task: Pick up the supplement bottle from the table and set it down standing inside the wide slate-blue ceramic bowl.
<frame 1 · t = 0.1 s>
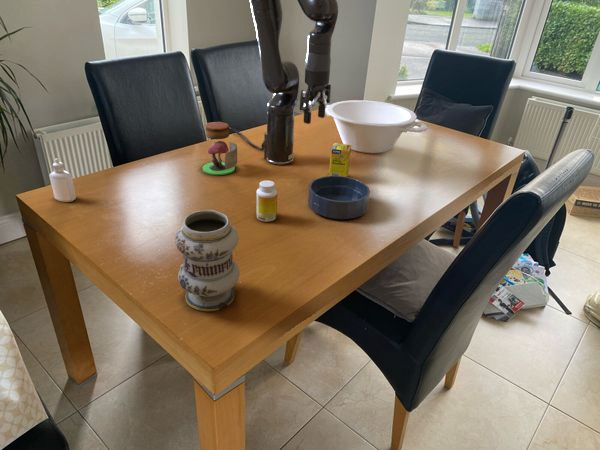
hand: (314, 120, 144), 17 cm above the table, tool pointing down, fingers open, 8 cm apart
white wash basin: (366, 146, 177), on the table
supplement bottle: (266, 218, 123), on the table
apothecary jar: (210, 296, 93), on the table
supplement box: (338, 178, 148), on the table
eye dropper bottle: (66, 199, 126), on the table
bowl: (337, 206, 130), on the table
mushroom terrarium: (219, 170, 149), on the table
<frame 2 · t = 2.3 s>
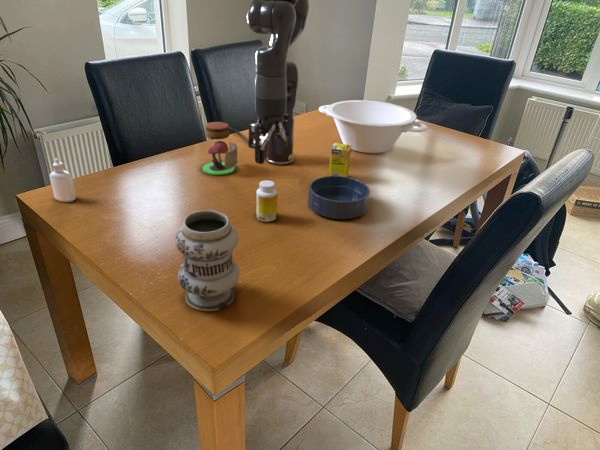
hand: (270, 158, 114), 17 cm above the table, tool pointing down, fingers open, 8 cm apart
nothing on the table moved.
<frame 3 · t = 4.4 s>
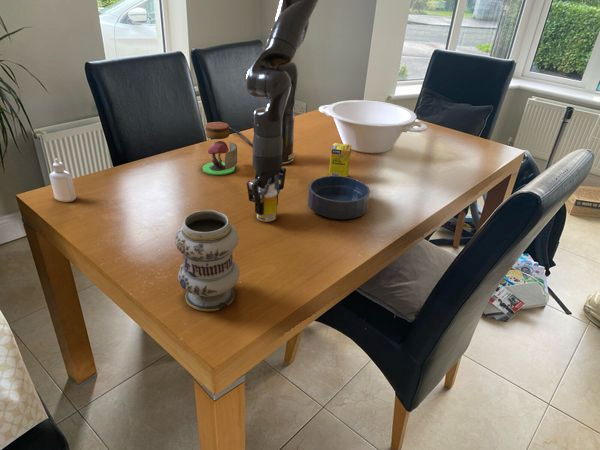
hand: (266, 209, 121), 3 cm above the table, tool pointing down, fingers closed on supplement bottle, 5 cm apart
supplement bottle: (266, 218, 123), on the table, touching gripper
everything else where it was.
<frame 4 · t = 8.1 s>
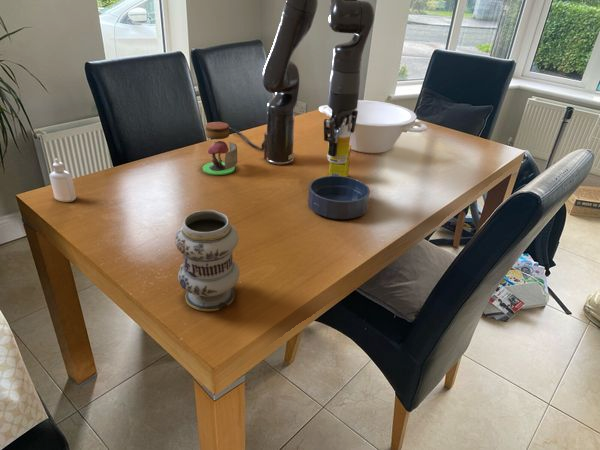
hand: (337, 152, 121), 17 cm above the table, tool pointing down, fingers closed on supplement bottle, 5 cm apart
supplement bottle: (337, 161, 123), point 14 cm above the table, touching gripper
everything else where it was.
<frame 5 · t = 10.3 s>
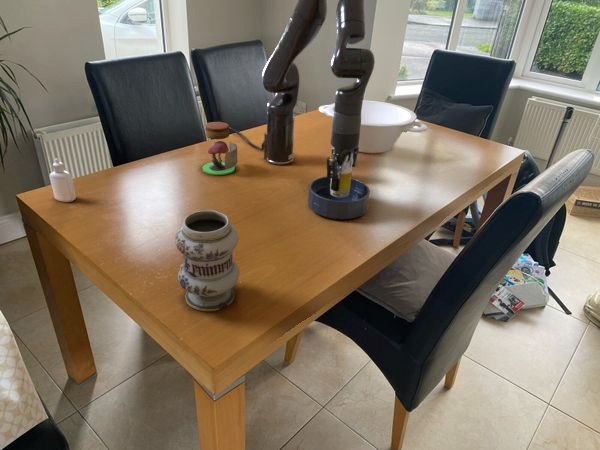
hand: (340, 186, 127), 7 cm above the table, tool pointing down, fingers closed on supplement bottle, 5 cm apart
supplement bottle: (339, 195, 128), point 4 cm above the table, touching gripper
everything else where it was.
when the fingers open (3 cm above the table, at t = 11.7 s): supplement bottle stays where it is, resting on bowl.
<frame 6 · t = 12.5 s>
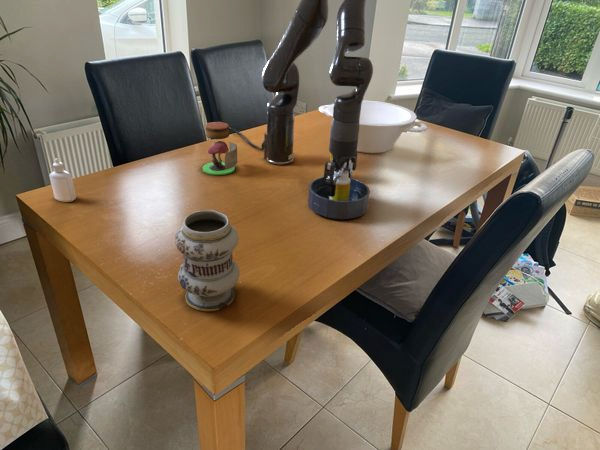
hand: (338, 190, 128), 5 cm above the table, tool pointing down, fingers open, 8 cm apart
supplement bottle: (338, 204, 130), point 1 cm above the table, touching bowl
everything else where it was.
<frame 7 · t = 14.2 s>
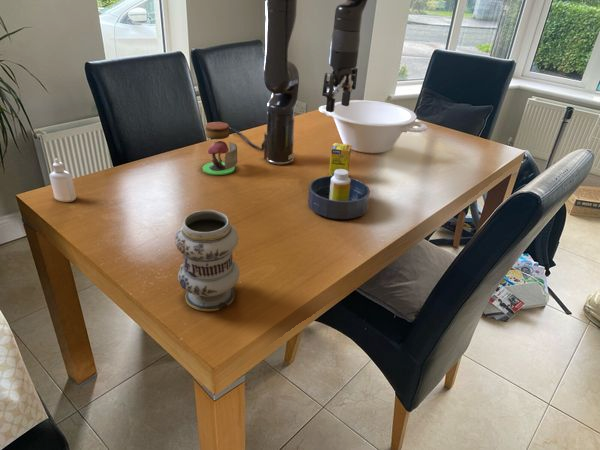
hand: (337, 108, 127), 25 cm above the table, tool pointing down, fingers open, 8 cm apart
nothing on the table moved.
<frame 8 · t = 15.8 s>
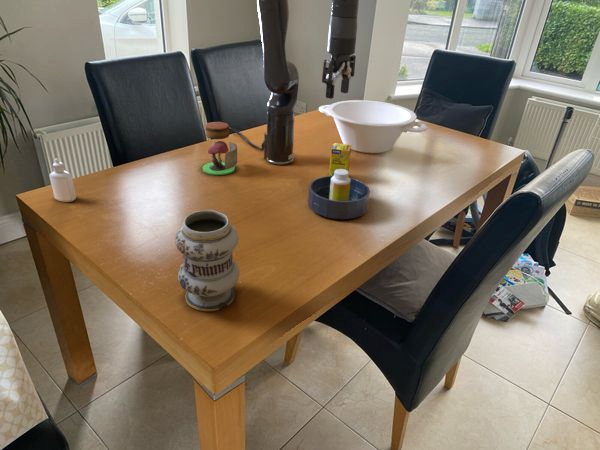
hand: (337, 95, 130), 28 cm above the table, tool pointing down, fingers open, 8 cm apart
nothing on the table moved.
at the end: supplement bottle inside the target area in the bowl (0.2 cm from its centre), point 0.6 cm above the bowl's base; supplement bottle tilted 0°; the gripper is holding nothing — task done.
